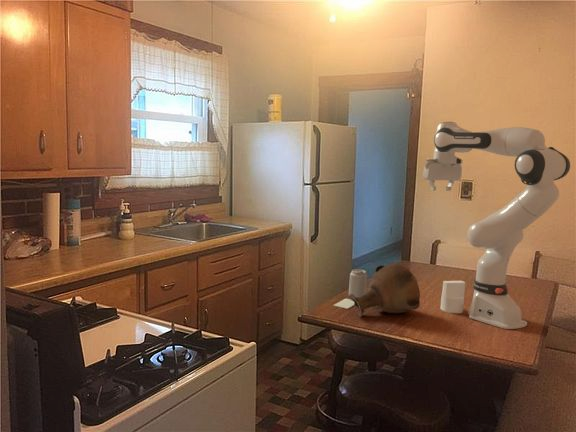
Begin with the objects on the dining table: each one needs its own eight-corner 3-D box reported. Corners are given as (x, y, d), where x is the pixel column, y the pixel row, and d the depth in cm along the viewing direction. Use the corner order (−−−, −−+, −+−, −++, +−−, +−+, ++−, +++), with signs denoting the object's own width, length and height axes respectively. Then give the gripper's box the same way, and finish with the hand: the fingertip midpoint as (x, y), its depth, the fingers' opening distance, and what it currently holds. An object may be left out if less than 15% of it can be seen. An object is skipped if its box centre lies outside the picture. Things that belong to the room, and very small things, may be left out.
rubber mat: (345, 299, 216) (345, 298, 216) (359, 302, 213) (359, 301, 213) (333, 306, 206) (333, 305, 206) (347, 309, 203) (347, 308, 203)
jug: (408, 304, 214) (345, 320, 204) (399, 258, 214) (336, 273, 204) (436, 309, 195) (369, 328, 185) (427, 259, 195) (359, 276, 185)
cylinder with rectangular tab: (448, 313, 204) (451, 285, 202) (436, 306, 212) (438, 279, 211) (467, 312, 206) (470, 284, 205) (454, 306, 215) (457, 278, 213)
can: (366, 300, 216) (368, 273, 214) (349, 299, 216) (351, 272, 215) (364, 295, 224) (366, 269, 222) (347, 294, 224) (349, 268, 222)
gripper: (431, 158, 214) (428, 191, 216) (465, 160, 224) (462, 191, 226) (421, 158, 220) (418, 189, 221) (454, 159, 230) (451, 189, 231)
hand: (440, 190), depth 224 cm, fingers open, 8 cm apart
